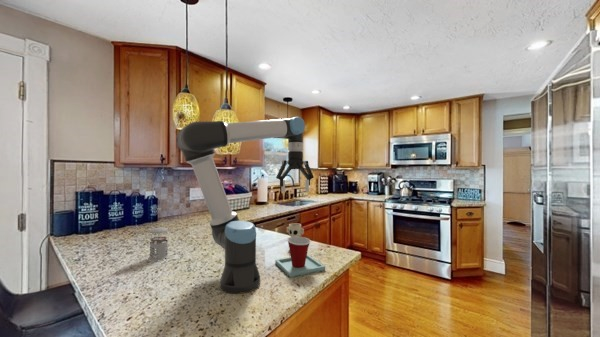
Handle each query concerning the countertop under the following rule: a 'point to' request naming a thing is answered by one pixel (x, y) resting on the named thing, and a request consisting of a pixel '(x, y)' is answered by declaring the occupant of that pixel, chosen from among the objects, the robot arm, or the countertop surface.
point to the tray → (309, 268)
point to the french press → (158, 244)
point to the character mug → (295, 230)
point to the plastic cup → (298, 250)
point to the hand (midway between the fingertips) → (295, 192)
